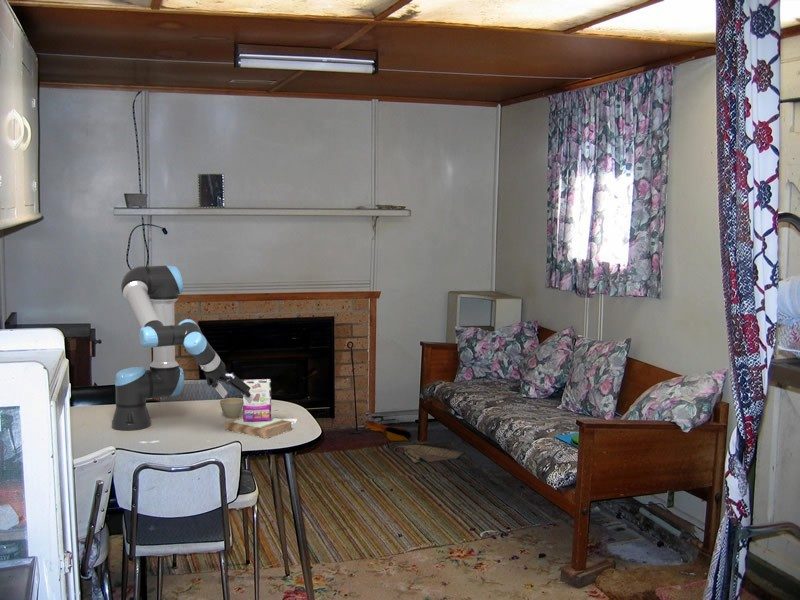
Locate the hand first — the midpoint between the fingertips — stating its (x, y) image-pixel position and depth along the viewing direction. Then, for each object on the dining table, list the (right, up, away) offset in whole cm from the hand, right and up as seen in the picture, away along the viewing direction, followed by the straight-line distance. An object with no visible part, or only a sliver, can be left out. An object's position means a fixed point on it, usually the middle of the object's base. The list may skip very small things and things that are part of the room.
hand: (238, 398), depth 330 cm
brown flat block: (+6, -14, +10) cm, 18 cm away
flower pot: (-8, -12, +31) cm, 34 cm away
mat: (+6, -11, +10) cm, 16 cm away
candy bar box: (+6, -10, +10) cm, 16 cm away
